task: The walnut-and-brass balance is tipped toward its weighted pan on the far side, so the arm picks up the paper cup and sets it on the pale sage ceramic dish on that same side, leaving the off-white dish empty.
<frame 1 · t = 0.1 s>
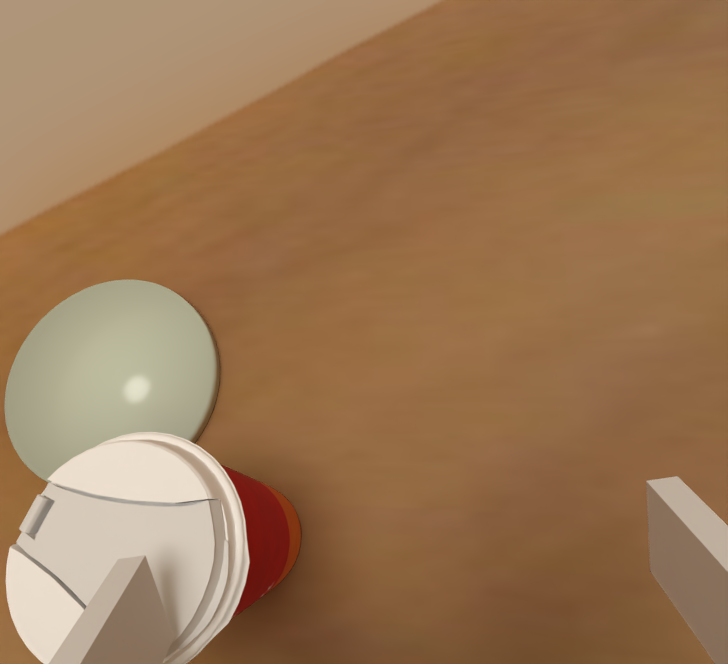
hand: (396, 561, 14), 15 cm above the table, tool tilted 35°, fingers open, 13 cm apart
sage dish: (118, 383, 33), on the table
paper cup: (254, 538, 30), on the table
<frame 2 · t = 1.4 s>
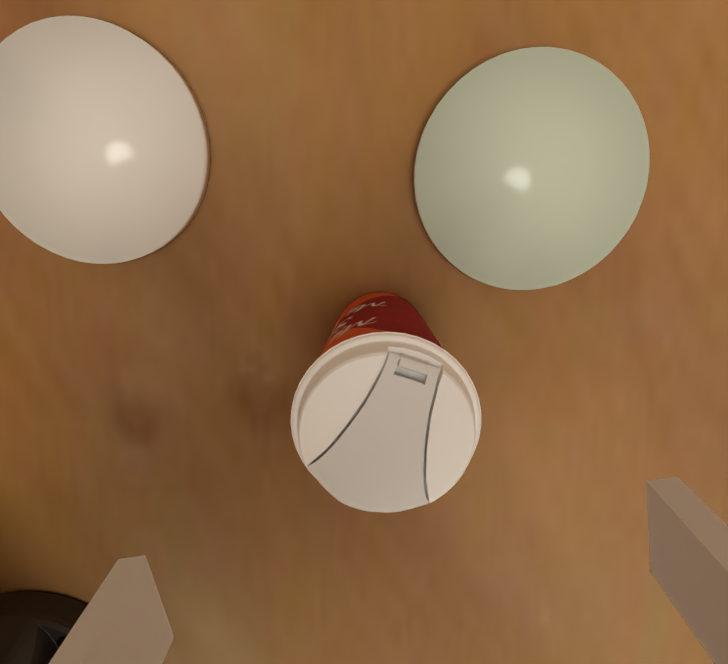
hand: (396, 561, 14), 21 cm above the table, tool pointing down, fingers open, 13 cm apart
sage dish: (525, 175, 31), on the table
paper cup: (379, 334, 34), on the table
white dish: (97, 148, 31), on the table
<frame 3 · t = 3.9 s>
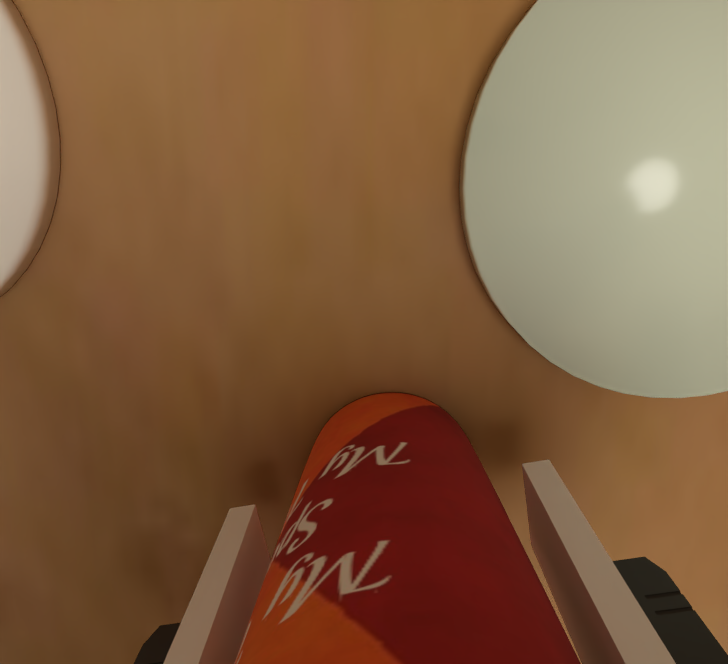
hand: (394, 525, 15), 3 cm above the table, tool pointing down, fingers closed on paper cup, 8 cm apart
sage dish: (681, 176, 16), on the table
paper cup: (390, 464, 19), on the table, touching gripper
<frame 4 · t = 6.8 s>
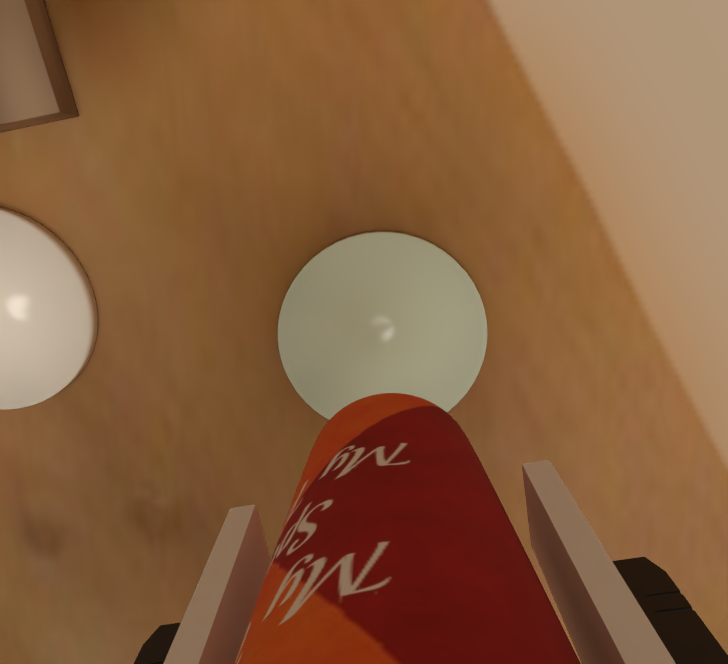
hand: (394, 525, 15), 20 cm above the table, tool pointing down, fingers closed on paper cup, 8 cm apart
sage dish: (381, 333, 34), on the table
paper cup: (390, 465, 19), point 16 cm above the table, touching gripper
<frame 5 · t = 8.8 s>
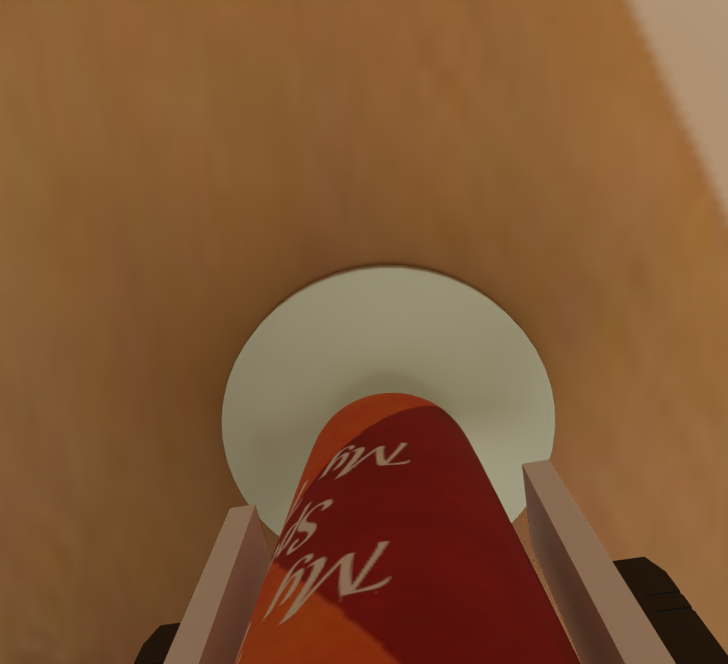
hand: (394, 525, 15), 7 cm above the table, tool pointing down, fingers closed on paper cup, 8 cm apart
sage dish: (386, 420, 22), on the table
paper cup: (390, 465, 19), point 4 cm above the table, touching gripper
when the fingers open (6 cm above the table, at t = 10.0 s): paper cup drops 1 cm, resting on sage dish.
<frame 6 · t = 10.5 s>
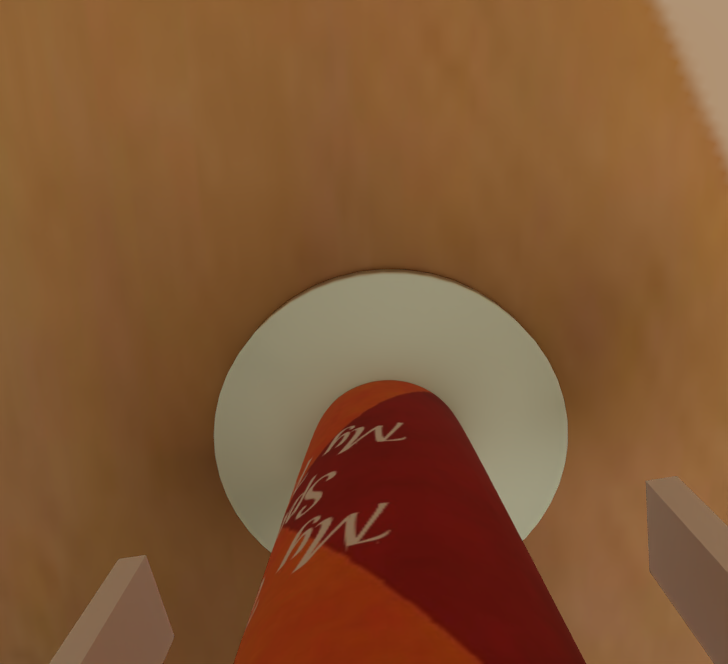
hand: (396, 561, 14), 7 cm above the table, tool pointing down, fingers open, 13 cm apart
sage dish: (388, 434, 21), on the table
paper cup: (387, 448, 20), point 1 cm above the table, touching sage dish
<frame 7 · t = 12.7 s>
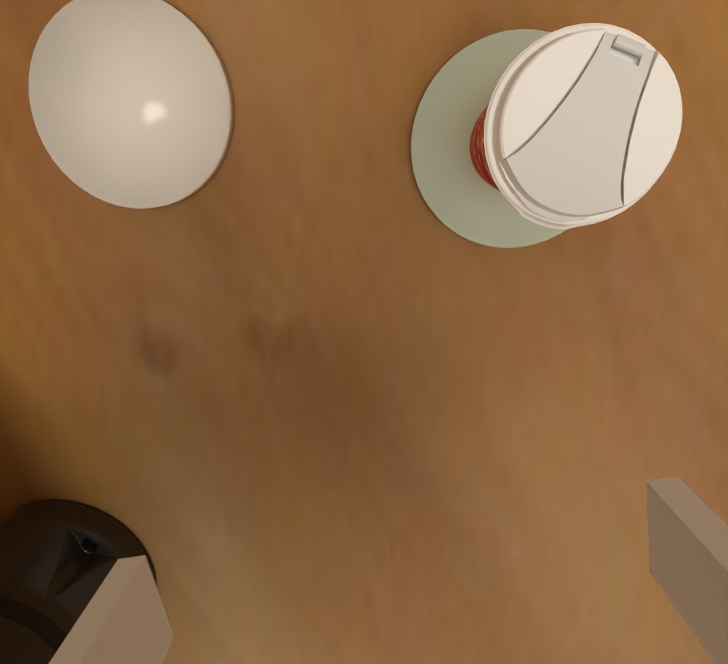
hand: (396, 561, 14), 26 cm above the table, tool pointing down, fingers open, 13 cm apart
sage dish: (510, 145, 35), on the table
paper cup: (512, 145, 34), point 1 cm above the table, touching sage dish
white dish: (136, 106, 35), on the table
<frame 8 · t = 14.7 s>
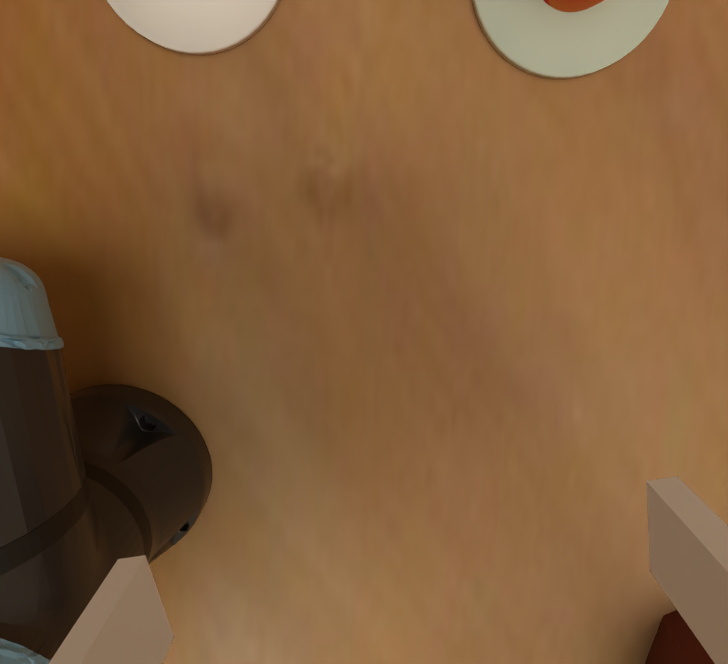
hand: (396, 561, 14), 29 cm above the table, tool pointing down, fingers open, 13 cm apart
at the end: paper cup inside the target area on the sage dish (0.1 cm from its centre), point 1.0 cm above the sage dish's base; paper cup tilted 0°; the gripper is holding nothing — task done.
